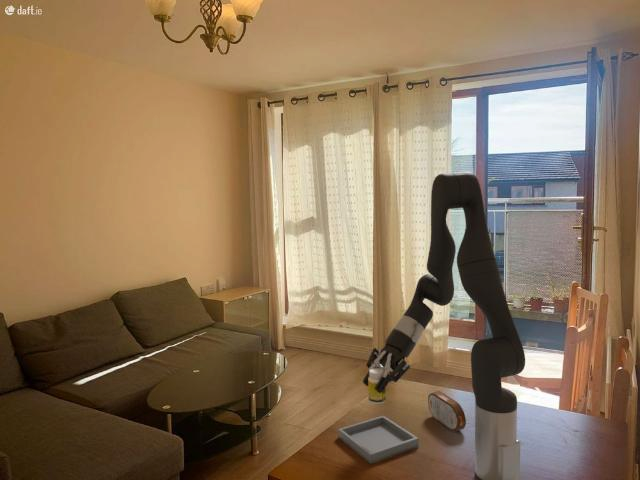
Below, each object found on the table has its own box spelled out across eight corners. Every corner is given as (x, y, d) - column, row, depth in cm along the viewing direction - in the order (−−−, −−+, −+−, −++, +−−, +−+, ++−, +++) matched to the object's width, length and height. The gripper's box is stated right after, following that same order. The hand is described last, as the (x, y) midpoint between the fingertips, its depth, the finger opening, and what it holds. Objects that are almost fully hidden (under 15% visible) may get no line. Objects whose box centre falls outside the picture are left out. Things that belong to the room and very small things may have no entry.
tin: (466, 434, 132) (466, 405, 132) (457, 437, 131) (457, 407, 130) (434, 412, 146) (434, 386, 146) (426, 414, 145) (426, 388, 144)
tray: (418, 447, 126) (418, 438, 126) (370, 464, 119) (370, 454, 119) (383, 423, 140) (383, 415, 140) (338, 437, 133) (338, 429, 132)
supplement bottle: (385, 405, 126) (384, 374, 125) (367, 404, 127) (366, 373, 126) (386, 397, 130) (385, 367, 130) (369, 396, 131) (368, 367, 131)
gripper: (381, 322, 137) (347, 372, 132) (415, 334, 124) (379, 389, 119) (395, 337, 140) (363, 386, 135) (430, 350, 128) (396, 404, 123)
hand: (371, 387), depth 127 cm, fingers closed on supplement bottle, 4 cm apart
